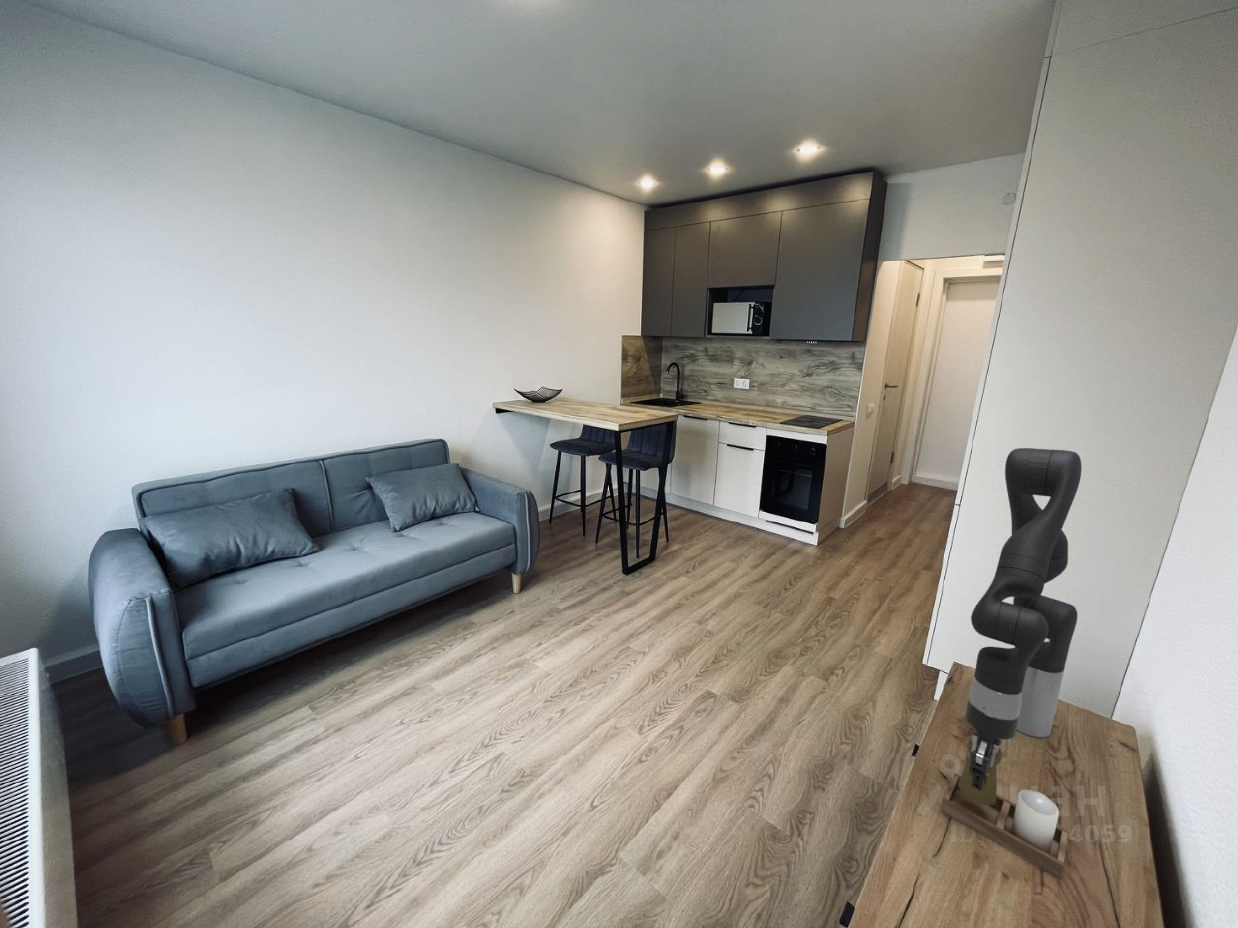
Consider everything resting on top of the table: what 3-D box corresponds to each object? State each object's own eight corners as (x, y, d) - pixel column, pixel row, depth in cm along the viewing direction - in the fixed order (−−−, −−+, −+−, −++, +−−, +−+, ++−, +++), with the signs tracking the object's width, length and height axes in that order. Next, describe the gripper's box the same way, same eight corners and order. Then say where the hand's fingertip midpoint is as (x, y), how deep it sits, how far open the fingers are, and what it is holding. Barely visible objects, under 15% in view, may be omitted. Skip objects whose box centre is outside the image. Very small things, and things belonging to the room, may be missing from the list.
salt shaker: (1013, 822, 93) (1022, 777, 91) (1051, 842, 89) (1062, 796, 87) (1008, 841, 89) (1017, 795, 87) (1048, 863, 85) (1059, 815, 83)
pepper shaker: (1003, 808, 91) (1013, 757, 89) (967, 802, 92) (976, 752, 90) (986, 781, 97) (995, 733, 94) (952, 776, 98) (960, 728, 96)
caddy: (952, 787, 102) (954, 772, 101) (1064, 846, 89) (1068, 830, 89) (940, 814, 96) (942, 799, 95) (1059, 882, 83) (1063, 865, 82)
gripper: (977, 677, 98) (964, 751, 101) (960, 711, 88) (946, 791, 92) (1025, 696, 93) (1010, 772, 96) (1012, 734, 83) (995, 818, 87)
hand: (979, 781), depth 94 cm, fingers closed on pepper shaker, 3 cm apart
